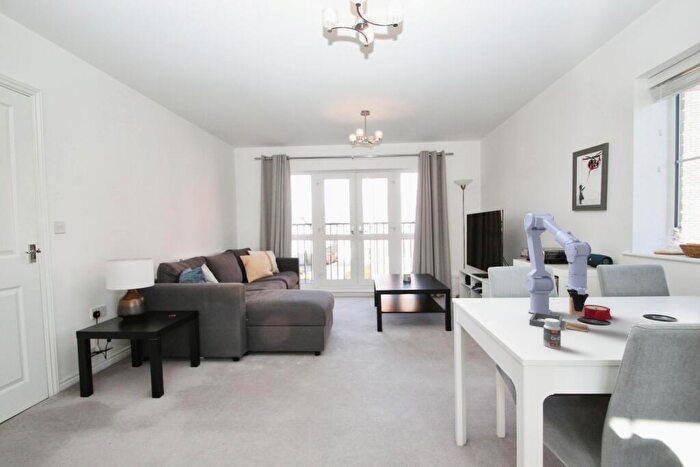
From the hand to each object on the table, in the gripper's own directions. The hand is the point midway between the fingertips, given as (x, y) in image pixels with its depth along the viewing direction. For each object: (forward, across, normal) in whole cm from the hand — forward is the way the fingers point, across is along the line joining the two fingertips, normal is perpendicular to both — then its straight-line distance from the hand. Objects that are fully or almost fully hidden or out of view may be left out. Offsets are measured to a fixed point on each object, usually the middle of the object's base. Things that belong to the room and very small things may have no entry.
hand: (577, 309), depth 122 cm
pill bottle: (+7, +25, -11) cm, 29 cm away
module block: (+2, 0, 0) cm, 2 cm away
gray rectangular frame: (+7, -2, -10) cm, 12 cm away
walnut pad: (+7, 0, 0) cm, 7 cm away
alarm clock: (+7, -20, +10) cm, 23 cm away
